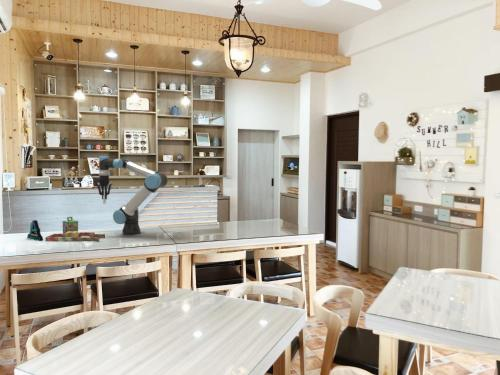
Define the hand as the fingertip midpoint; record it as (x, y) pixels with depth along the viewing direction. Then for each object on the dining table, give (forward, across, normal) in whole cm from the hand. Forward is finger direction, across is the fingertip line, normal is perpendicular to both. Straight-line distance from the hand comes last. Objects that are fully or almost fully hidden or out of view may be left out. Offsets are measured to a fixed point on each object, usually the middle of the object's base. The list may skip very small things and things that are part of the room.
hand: (104, 203), depth 347 cm
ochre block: (+27, -19, -20) cm, 38 cm away
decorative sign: (+27, -48, -20) cm, 59 cm away
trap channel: (+26, -16, -17) cm, 35 cm away
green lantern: (+27, -28, -1) cm, 39 cm away
